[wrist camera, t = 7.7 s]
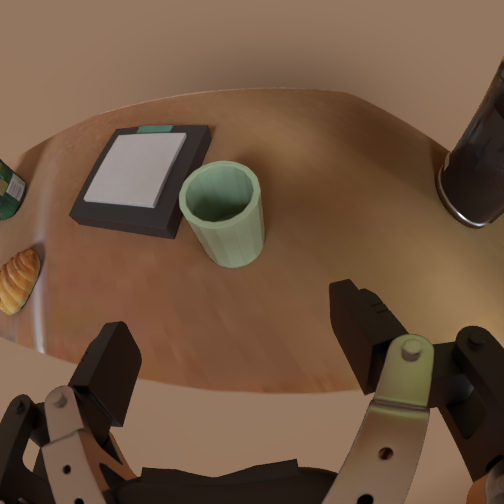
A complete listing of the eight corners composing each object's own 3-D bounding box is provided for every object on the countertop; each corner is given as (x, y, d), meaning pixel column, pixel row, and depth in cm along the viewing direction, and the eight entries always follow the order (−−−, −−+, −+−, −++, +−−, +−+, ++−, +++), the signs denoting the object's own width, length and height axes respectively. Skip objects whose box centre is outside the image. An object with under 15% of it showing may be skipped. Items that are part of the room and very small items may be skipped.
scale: (211, 139, 32) (207, 121, 29) (174, 239, 27) (163, 225, 24) (122, 139, 34) (114, 125, 31) (79, 224, 29) (65, 212, 26)
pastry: (34, 242, 29) (17, 231, 25) (49, 274, 27) (29, 263, 23) (3, 289, 26) (-14, 281, 23) (16, 323, 24) (-4, 317, 21)
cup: (269, 217, 27) (266, 164, 19) (258, 273, 25) (250, 234, 17) (213, 209, 28) (193, 158, 20) (197, 262, 26) (168, 222, 18)
